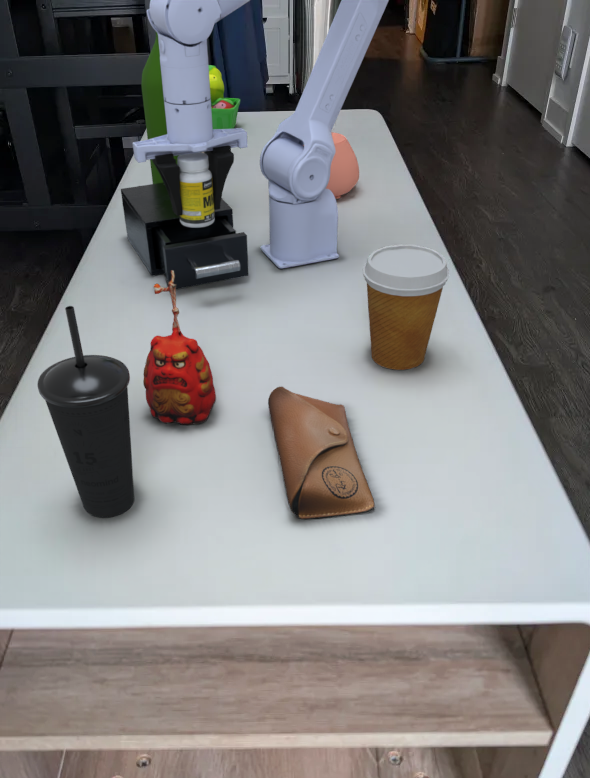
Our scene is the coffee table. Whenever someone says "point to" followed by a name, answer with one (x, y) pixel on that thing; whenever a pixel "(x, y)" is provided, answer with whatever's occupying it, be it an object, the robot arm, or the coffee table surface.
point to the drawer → (200, 253)
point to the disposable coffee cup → (403, 302)
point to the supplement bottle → (196, 190)
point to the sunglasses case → (317, 457)
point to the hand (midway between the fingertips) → (196, 210)
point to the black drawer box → (153, 218)
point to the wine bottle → (154, 102)
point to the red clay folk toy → (178, 374)
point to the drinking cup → (92, 425)
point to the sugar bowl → (342, 167)
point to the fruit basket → (221, 102)
